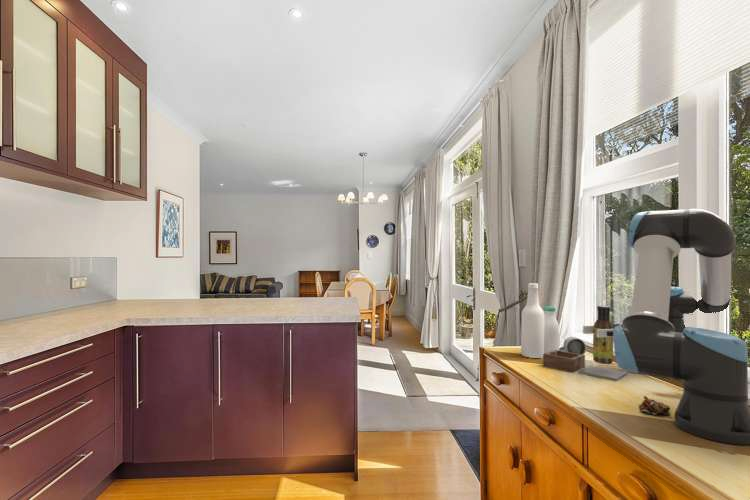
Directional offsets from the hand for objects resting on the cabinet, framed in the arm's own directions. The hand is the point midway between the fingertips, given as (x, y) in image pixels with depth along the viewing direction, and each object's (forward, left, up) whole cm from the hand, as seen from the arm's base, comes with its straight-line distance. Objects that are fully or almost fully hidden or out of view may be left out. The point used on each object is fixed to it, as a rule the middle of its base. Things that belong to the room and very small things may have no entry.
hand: (590, 331), depth 141 cm
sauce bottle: (+4, -3, -11) cm, 12 cm away
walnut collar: (+3, +10, -15) cm, 18 cm away
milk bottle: (+18, +22, -15) cm, 32 cm away
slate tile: (+4, -3, -15) cm, 16 cm away
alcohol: (+9, +25, -15) cm, 31 cm away
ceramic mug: (+25, +16, -15) cm, 33 cm away
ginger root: (-22, -23, -16) cm, 36 cm away
